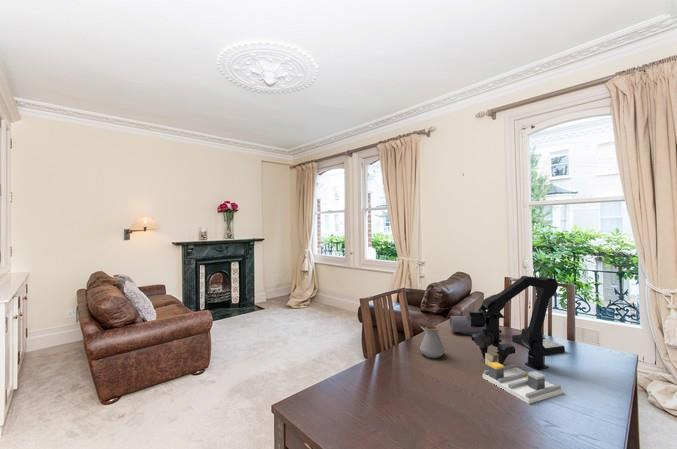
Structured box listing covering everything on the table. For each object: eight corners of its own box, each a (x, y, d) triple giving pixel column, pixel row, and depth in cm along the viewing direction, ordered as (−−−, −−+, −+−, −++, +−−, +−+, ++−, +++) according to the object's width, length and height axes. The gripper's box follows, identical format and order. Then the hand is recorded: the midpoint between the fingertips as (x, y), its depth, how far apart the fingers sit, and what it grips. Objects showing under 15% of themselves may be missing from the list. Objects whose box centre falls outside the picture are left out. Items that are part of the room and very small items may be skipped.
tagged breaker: (496, 373, 127) (496, 361, 127) (504, 377, 123) (503, 365, 123) (488, 375, 125) (488, 363, 125) (496, 379, 122) (496, 367, 122)
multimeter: (531, 339, 170) (531, 330, 170) (565, 353, 151) (565, 343, 151) (511, 341, 167) (511, 332, 167) (543, 356, 148) (543, 346, 148)
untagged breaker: (535, 383, 119) (535, 371, 119) (544, 388, 115) (544, 375, 115) (527, 385, 117) (527, 372, 117) (537, 390, 114) (537, 377, 114)
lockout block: (491, 362, 141) (491, 351, 141) (499, 366, 137) (499, 355, 137) (485, 364, 139) (485, 353, 139) (492, 368, 136) (492, 356, 136)
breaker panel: (514, 370, 134) (514, 363, 134) (563, 393, 115) (563, 385, 115) (482, 377, 127) (482, 371, 127) (528, 403, 108) (528, 396, 108)
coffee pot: (450, 356, 147) (450, 324, 147) (432, 362, 142) (432, 328, 142) (417, 342, 166) (417, 313, 166) (401, 346, 160) (401, 317, 160)
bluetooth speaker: (452, 335, 175) (452, 317, 175) (449, 330, 184) (449, 313, 184) (496, 337, 172) (495, 319, 172) (490, 332, 181) (490, 314, 181)
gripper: (462, 323, 144) (462, 357, 144) (496, 336, 127) (496, 375, 127) (480, 320, 148) (480, 353, 148) (516, 333, 131) (516, 370, 131)
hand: (492, 362), depth 138 cm, fingers open, 8 cm apart
